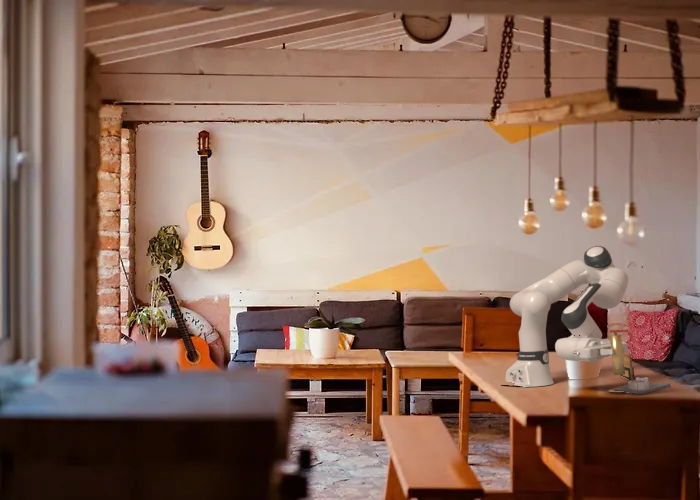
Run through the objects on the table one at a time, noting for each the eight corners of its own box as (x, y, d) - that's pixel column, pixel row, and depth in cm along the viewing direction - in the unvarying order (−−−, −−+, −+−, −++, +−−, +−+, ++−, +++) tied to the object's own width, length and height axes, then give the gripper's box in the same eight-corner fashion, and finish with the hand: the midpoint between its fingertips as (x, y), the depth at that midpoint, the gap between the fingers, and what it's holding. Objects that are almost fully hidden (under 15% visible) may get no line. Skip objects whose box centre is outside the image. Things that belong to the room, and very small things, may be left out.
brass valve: (611, 375, 304) (607, 330, 305) (617, 373, 307) (613, 329, 308) (628, 375, 299) (623, 330, 300) (634, 373, 302) (629, 329, 303)
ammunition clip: (620, 378, 356) (618, 349, 356) (625, 377, 356) (622, 348, 357) (630, 380, 345) (627, 351, 346) (634, 380, 345) (632, 350, 346)
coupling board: (608, 392, 318) (607, 382, 318) (636, 385, 332) (635, 375, 332) (643, 394, 308) (642, 384, 308) (670, 386, 321) (669, 376, 322)
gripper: (568, 344, 311) (597, 345, 299) (609, 338, 321) (638, 338, 309) (570, 361, 310) (598, 363, 298) (610, 354, 321) (639, 356, 309)
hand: (619, 350), depth 304 cm, fingers closed on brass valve, 4 cm apart
